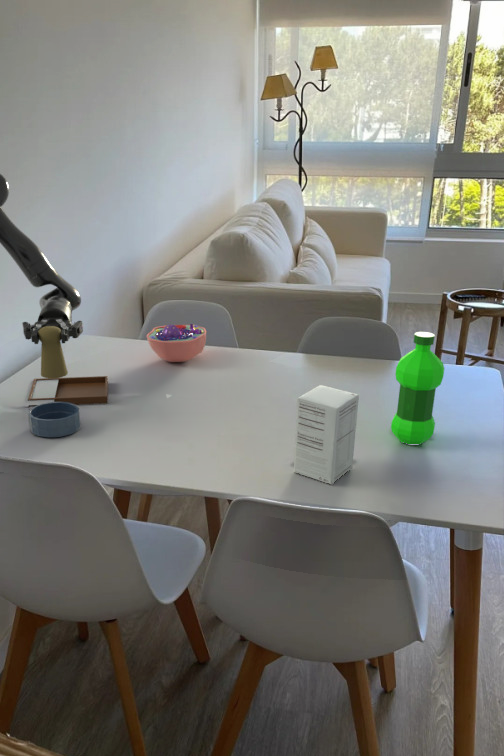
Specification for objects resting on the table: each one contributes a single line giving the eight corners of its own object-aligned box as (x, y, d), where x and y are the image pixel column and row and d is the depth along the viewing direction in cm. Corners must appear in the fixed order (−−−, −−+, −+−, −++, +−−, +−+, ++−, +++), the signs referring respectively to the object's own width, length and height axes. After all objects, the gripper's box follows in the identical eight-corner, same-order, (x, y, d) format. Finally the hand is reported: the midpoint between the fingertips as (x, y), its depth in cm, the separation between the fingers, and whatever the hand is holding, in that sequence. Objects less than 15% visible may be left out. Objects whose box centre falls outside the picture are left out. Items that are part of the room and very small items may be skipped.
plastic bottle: (378, 438, 162) (390, 332, 151) (410, 428, 168) (423, 325, 157) (411, 454, 155) (426, 344, 144) (443, 443, 160) (459, 336, 150)
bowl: (28, 440, 157) (25, 421, 155) (33, 420, 167) (31, 402, 165) (79, 437, 159) (77, 419, 157) (81, 418, 169) (80, 400, 167)
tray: (28, 407, 175) (27, 399, 174) (34, 385, 188) (34, 378, 187) (107, 403, 178) (107, 396, 177) (108, 382, 191) (107, 375, 190)
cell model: (220, 355, 215) (220, 319, 210) (181, 373, 199) (180, 334, 194) (175, 346, 223) (174, 310, 218) (134, 362, 207) (132, 325, 202)
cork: (39, 378, 159) (33, 331, 155) (42, 369, 165) (37, 323, 160) (66, 377, 160) (62, 330, 155) (68, 369, 166) (64, 323, 161)
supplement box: (315, 457, 152) (320, 383, 145) (353, 468, 148) (360, 393, 140) (291, 473, 145) (295, 396, 138) (331, 486, 141) (337, 407, 133)
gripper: (22, 303, 168) (13, 323, 153) (84, 302, 171) (81, 322, 156) (26, 334, 172) (17, 356, 157) (86, 332, 174) (84, 354, 159)
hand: (49, 339), depth 156 cm, fingers closed on cork, 5 cm apart
